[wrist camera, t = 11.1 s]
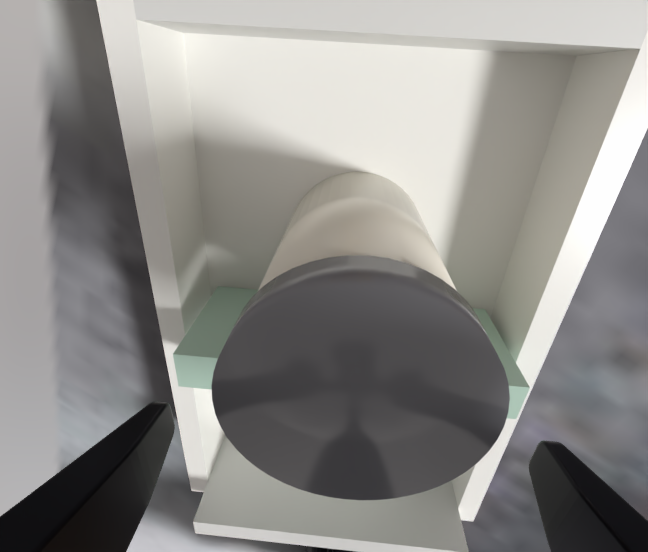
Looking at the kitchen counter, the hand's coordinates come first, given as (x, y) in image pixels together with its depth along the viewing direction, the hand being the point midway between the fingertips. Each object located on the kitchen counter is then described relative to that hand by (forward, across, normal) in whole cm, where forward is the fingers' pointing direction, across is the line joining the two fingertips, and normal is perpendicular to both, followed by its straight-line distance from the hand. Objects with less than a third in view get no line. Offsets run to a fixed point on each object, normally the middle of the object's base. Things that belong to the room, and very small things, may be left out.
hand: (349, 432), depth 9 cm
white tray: (+9, 0, +1) cm, 9 cm away
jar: (+8, 0, -2) cm, 8 cm away
